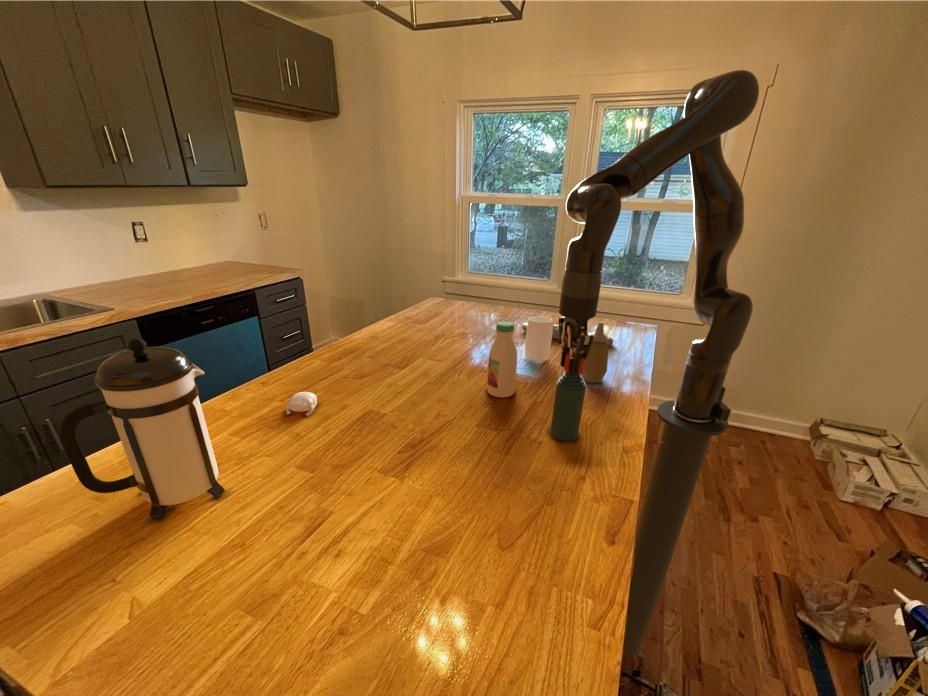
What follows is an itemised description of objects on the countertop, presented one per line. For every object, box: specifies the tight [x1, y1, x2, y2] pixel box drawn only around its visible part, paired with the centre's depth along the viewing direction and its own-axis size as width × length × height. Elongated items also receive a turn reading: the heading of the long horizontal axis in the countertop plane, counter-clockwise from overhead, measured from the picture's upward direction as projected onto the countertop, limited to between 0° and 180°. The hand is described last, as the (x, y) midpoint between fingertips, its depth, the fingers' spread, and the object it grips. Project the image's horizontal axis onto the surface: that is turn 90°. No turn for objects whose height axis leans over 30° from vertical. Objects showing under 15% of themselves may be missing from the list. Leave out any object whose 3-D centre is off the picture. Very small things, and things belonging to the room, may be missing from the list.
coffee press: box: [59, 337, 226, 520], centre depth 71 cm, size 17×16×30 cm
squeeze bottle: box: [581, 321, 610, 384], centre depth 125 cm, size 8×8×18 cm
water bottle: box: [549, 371, 587, 442], centre depth 96 cm, size 6×6×20 cm
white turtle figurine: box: [285, 391, 318, 416], centre depth 107 cm, size 8×7×4 cm
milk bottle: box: [486, 321, 518, 399], centre depth 115 cm, size 8×8×20 cm
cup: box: [524, 315, 554, 362], centre depth 138 cm, size 8×8×14 cm
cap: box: [563, 350, 585, 374], centre depth 92 cm, size 4×4×4 cm
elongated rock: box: [521, 322, 614, 347], centre depth 162 cm, size 35×5×10 cm
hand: (568, 369), depth 93 cm, fingers closed on cap, 4 cm apart
